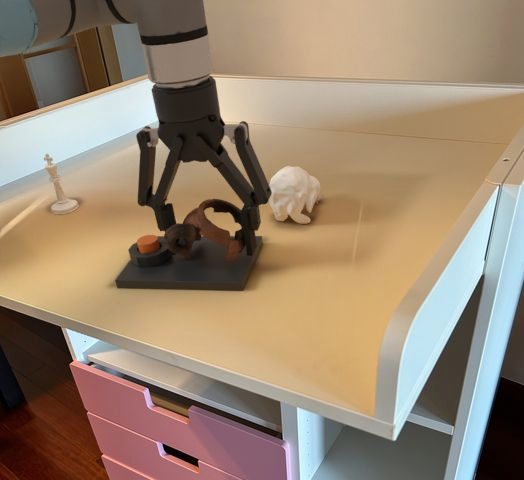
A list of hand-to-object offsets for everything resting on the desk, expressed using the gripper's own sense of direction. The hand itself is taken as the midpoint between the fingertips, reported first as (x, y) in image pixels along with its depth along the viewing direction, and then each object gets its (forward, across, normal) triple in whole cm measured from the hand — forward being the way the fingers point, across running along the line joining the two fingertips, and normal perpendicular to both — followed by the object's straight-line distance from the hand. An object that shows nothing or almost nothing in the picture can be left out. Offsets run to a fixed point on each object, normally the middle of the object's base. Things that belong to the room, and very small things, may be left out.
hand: (213, 250), depth 78 cm
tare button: (0, +9, 0) cm, 9 cm away
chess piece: (+3, +34, -20) cm, 40 cm away
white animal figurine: (+3, -10, -17) cm, 20 cm away
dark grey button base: (+2, +4, 0) cm, 4 cm away
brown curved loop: (+1, +1, 0) cm, 1 cm away
